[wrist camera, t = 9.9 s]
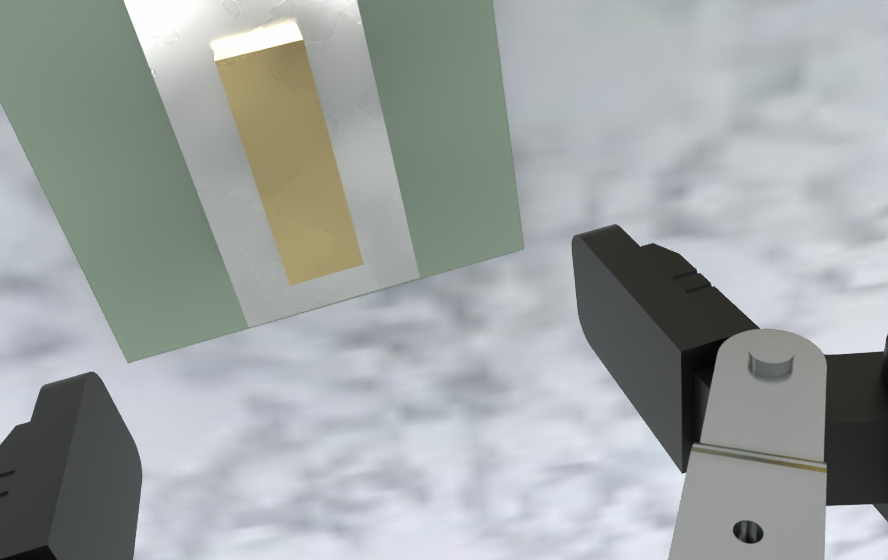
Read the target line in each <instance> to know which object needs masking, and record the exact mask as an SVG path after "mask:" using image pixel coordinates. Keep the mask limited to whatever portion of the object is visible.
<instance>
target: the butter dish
mask: <svg viewBox="0 0 888 560" xmlns="http://www.w3.org/2000/svg"><path fill="white" fill-rule="evenodd" d="M124 2H125V5H126V7H127V10H128V12H129V15H130V18H131V20H132V23H133V25H134V28H135V31H136V33H137V36H138V39H139V41H140V44H141V46H142V49H143V52H144V54H145V57H146V60H147V62H148V65H149V67H150V70H151V73H152V75H153V78H154V80H155V83H156V86H157V88H158V91H159V94H160V96H161V99H162V101H163V104H164V107H165V109H166V112H167V114H168V117H169V120H170V122H171V125H172V128H173V130H174V133H175V135H176V138H177V141H178V143H179V146H180V149H181V151H182V154H183V156H184V159H185V162H186V164H187V167H188V169H189V172H190V175H191V177H192V180H193V183H194V185H195V188H196V190H197V193H198V196H199V198H200V201H201V203H202V206H203V209H204V211H205V214H206V217H207V219H208V222H209V224H210V227H211V230H212V232H213V235H214V238H215V240H216V243H217V245H218V248H219V251H220V253H221V256H222V258H223V261H224V264H225V266H226V269H227V272H228V274H229V277H230V279H231V282H232V285H233V287H234V290H235V293H236V295H237V298H238V300H239V303H240V306H241V308H242V311H243V313H244V316H245V319H246V321H247V324H248V327H249V328H250V327H253V326H257V325H260V324H263V323H267V322H270V321H274V320H277V319H280V318H284V317H287V316H291V315H294V314H297V313H301V312H304V311H308V310H311V309H314V308H318V307H321V306H325V305H328V304H331V303H335V302H338V301H341V300H345V299H348V298H352V297H355V296H358V295H362V294H365V293H369V292H372V291H375V290H379V289H382V288H386V287H389V286H392V285H396V284H399V283H403V282H406V281H409V280H413V279H416V278H419V272H418V268H417V263H416V259H415V254H414V250H413V246H412V241H411V237H410V232H409V228H408V223H407V219H406V215H405V210H404V206H403V201H402V197H401V193H400V188H399V184H398V179H397V175H396V170H395V166H394V162H393V157H392V153H391V148H390V144H389V140H388V135H387V131H386V126H385V122H384V117H383V113H382V109H381V104H380V100H379V95H378V91H377V86H376V82H375V78H374V73H373V69H372V64H371V60H370V56H369V51H368V47H367V42H366V38H365V33H364V29H363V25H362V20H361V16H360V11H359V7H358V3H357V0H124Z"/></svg>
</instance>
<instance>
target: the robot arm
mask: <svg viewBox="0 0 888 560" xmlns="http://www.w3.org/2000/svg"><path fill="white" fill-rule="evenodd" d="M572 257H573V267H574V277H575V288H576V298H577V308H578V315H579V319H580V323H581V327H582V329H583V332H584V335H585V337H586V339H587V341H588V343H589V344H590V346H591V347H592V349H593V350H594V352H595V353H596V354H597V356H598V357H599V359H600V360H601V361H602V363H603V364H604V365H605V367H606V368H607V370H608V371H609V372H610V374H611V375H612V377H613V378H614V379H615V381H616V382H617V384H618V385H619V386H620V388H621V389H622V390H623V392H624V393H625V395H626V396H627V397H628V399H629V400H630V402H631V403H632V404H633V406H634V407H635V409H636V410H637V411H638V413H639V414H640V416H641V417H642V418H643V420H644V421H645V422H646V424H647V425H648V427H649V428H650V429H651V431H652V432H653V434H654V435H655V436H656V438H657V439H658V441H659V442H660V443H661V445H662V446H663V448H664V449H665V450H666V452H667V453H668V454H669V456H670V457H671V459H672V460H673V461H674V463H675V464H676V466H677V467H678V468H679V470H680V471H681V473H682V474H683V473H686V477H685V482H684V487H683V491H682V496H681V501H680V506H679V510H678V515H677V520H676V525H675V530H674V534H673V539H672V544H671V549H670V553H669V558H668V560H824V551H825V516H826V506H833V505H861V504H873V505H874V507H875V508H876V509H877V510H878V511H879V512H880V514H881V515H882V516H883V517H884V518H885V519H886V520H887V522H888V335H887V338H886V343H885V349H884V351H883V352H869V353H854V354H839V355H824V354H823V353H822V351H821V350H820V349H819V348H818V347H817V346H816V345H815V344H814V343H812V342H811V341H809V340H808V339H806V338H804V337H802V336H800V335H797V334H794V333H791V332H787V331H783V330H776V329H760V328H759V327H758V326H757V325H756V324H755V323H753V322H752V321H751V320H750V319H749V318H748V317H747V316H746V315H745V314H744V313H743V312H742V311H741V310H739V309H738V308H737V307H736V306H735V305H734V304H733V303H732V302H731V301H730V300H729V299H728V298H726V297H725V296H724V295H723V294H722V293H721V292H720V291H719V290H718V289H717V288H716V287H715V286H714V287H712V286H711V283H710V282H709V281H708V280H707V279H706V278H705V277H704V276H703V275H702V274H701V273H699V274H698V273H697V270H696V269H695V268H694V267H693V266H692V265H691V264H690V263H689V262H688V261H686V260H685V259H684V258H683V257H682V256H681V255H680V254H678V253H676V252H673V251H671V250H668V249H666V248H664V247H661V246H659V245H656V244H654V243H652V244H648V245H645V246H641V247H640V246H639V245H638V244H637V243H636V242H635V241H634V240H633V239H632V238H631V237H630V236H629V235H628V234H627V233H626V232H625V231H624V230H623V229H622V228H621V227H620V226H618V225H616V224H614V225H610V226H607V227H603V228H600V229H596V230H593V231H589V232H586V233H582V234H579V235H575V236H574V237H573V239H572ZM141 485H142V467H141V461H140V457H139V453H138V450H137V447H136V444H135V442H134V440H133V438H132V436H131V434H130V432H129V430H128V428H127V427H126V425H125V423H124V421H123V419H122V417H121V415H120V413H119V411H118V410H117V408H116V406H115V404H114V402H113V400H112V398H111V396H110V394H109V392H108V391H107V389H106V387H105V385H104V383H103V381H102V380H101V378H100V377H99V376H98V375H97V374H96V373H95V372H88V373H85V374H81V375H78V376H74V377H71V378H67V379H64V380H60V381H56V382H53V383H49V384H46V385H44V386H42V388H41V390H40V392H39V395H38V399H37V402H36V405H35V408H34V411H33V415H32V418H31V421H30V422H27V423H24V424H20V425H17V426H15V428H14V429H13V430H12V431H11V433H10V434H9V435H8V436H7V437H6V439H5V440H4V441H3V442H2V444H1V445H0V560H133V556H134V547H135V538H136V529H137V520H138V511H139V503H140V494H141Z"/></svg>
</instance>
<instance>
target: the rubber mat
mask: <svg viewBox="0 0 888 560" xmlns="http://www.w3.org/2000/svg"><path fill="white" fill-rule="evenodd" d="M357 3H358V7H359V11H360V16H361V20H362V25H363V29H364V33H365V38H366V42H367V47H368V51H369V56H370V60H371V64H372V69H373V73H374V78H375V82H376V86H377V91H378V95H379V100H380V104H381V109H382V113H383V117H384V122H385V126H386V131H387V135H388V140H389V144H390V148H391V153H392V157H393V162H394V166H395V170H396V175H397V179H398V184H399V188H400V193H401V197H402V201H403V206H404V210H405V215H406V219H407V223H408V228H409V232H410V237H411V241H412V246H413V250H414V254H415V259H416V263H417V268H418V272H419V278H416V279H413V280H409V281H406V282H403V283H399V284H396V285H392V286H389V287H386V288H382V289H379V290H375V291H372V292H369V293H365V294H362V295H358V296H355V297H352V298H348V299H345V300H341V301H338V302H335V303H339V302H342V301H346V300H349V299H353V298H356V297H360V296H363V295H367V294H370V293H374V292H377V291H381V290H384V289H387V288H391V287H394V286H398V285H401V284H405V283H408V282H412V281H415V280H419V279H422V278H426V277H429V276H433V275H436V274H440V273H443V272H446V271H450V270H453V269H457V268H460V267H464V266H467V265H471V264H474V263H478V262H481V261H485V260H488V259H492V258H495V257H499V256H502V255H506V254H509V253H512V252H516V251H519V250H523V249H524V244H523V236H522V228H521V220H520V212H519V205H518V197H517V189H516V181H515V174H514V166H513V158H512V150H511V142H510V135H509V127H508V119H507V111H506V104H505V96H504V88H503V80H502V73H501V65H500V57H499V49H498V41H497V34H496V26H495V18H494V10H493V3H492V0H357ZM0 103H1V105H2V107H3V109H4V111H5V113H6V115H7V117H8V119H9V121H10V123H11V125H12V127H13V129H14V131H15V133H16V135H17V137H18V139H19V142H20V144H21V146H22V148H23V150H24V152H25V154H26V156H27V158H28V160H29V162H30V164H31V166H32V168H33V170H34V172H35V174H36V176H37V178H38V180H39V182H40V184H41V187H42V189H43V191H44V193H45V195H46V197H47V199H48V201H49V203H50V205H51V207H52V209H53V211H54V213H55V215H56V217H57V219H58V221H59V223H60V225H61V227H62V229H63V231H64V234H65V236H66V238H67V240H68V242H69V244H70V246H71V248H72V250H73V252H74V254H75V256H76V258H77V260H78V262H79V264H80V266H81V268H82V270H83V272H84V274H85V276H86V278H87V281H88V283H89V285H90V287H91V289H92V291H93V293H94V295H95V297H96V299H97V301H98V303H99V305H100V307H101V309H102V311H103V313H104V315H105V317H106V319H107V321H108V323H109V326H110V328H111V330H112V332H113V334H114V336H115V338H116V340H117V342H118V344H119V346H120V348H121V350H122V352H123V354H124V356H125V358H126V360H127V362H128V363H131V362H134V361H137V360H141V359H144V358H148V357H151V356H155V355H158V354H162V353H165V352H169V351H172V350H176V349H179V348H183V347H186V346H190V345H193V344H197V343H200V342H203V341H207V340H210V339H214V338H217V337H221V336H224V335H228V334H231V333H235V332H238V331H242V330H245V329H249V327H248V324H247V321H246V319H245V316H244V313H243V311H242V308H241V306H240V303H239V300H238V298H237V295H236V293H235V290H234V287H233V285H232V282H231V279H230V277H229V274H228V272H227V269H226V266H225V264H224V261H223V258H222V256H221V253H220V251H219V248H218V245H217V243H216V240H215V238H214V235H213V232H212V230H211V227H210V224H209V222H208V219H207V217H206V214H205V211H204V209H203V206H202V203H201V201H200V198H199V196H198V193H197V190H196V188H195V185H194V183H193V180H192V177H191V175H190V172H189V169H188V167H187V164H186V162H185V159H184V156H183V154H182V151H181V149H180V146H179V143H178V141H177V138H176V135H175V133H174V130H173V128H172V125H171V122H170V120H169V117H168V114H167V112H166V109H165V107H164V104H163V101H162V99H161V96H160V94H159V91H158V88H157V86H156V83H155V80H154V78H153V75H152V73H151V70H150V67H149V65H148V62H147V60H146V57H145V54H144V52H143V49H142V46H141V44H140V41H139V39H138V36H137V33H136V31H135V28H134V25H133V23H132V20H131V18H130V15H129V12H128V10H127V7H126V5H125V2H124V0H0ZM335 303H331V304H328V305H332V304H335ZM328 305H325V306H328ZM325 306H321V307H325ZM321 307H318V308H321ZM318 308H314V309H311V310H315V309H318ZM311 310H308V311H311ZM308 311H304V312H308ZM304 312H301V313H304ZM301 313H297V314H301ZM297 314H294V315H297ZM294 315H291V316H294ZM287 317H290V316H287ZM287 317H284V318H287ZM280 319H283V318H280ZM280 319H277V320H280ZM274 321H276V320H274ZM270 322H273V321H270ZM267 323H269V322H267ZM263 324H266V323H263ZM260 325H262V324H260ZM257 326H259V325H257ZM253 327H256V326H253ZM250 328H252V327H250Z"/></svg>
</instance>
